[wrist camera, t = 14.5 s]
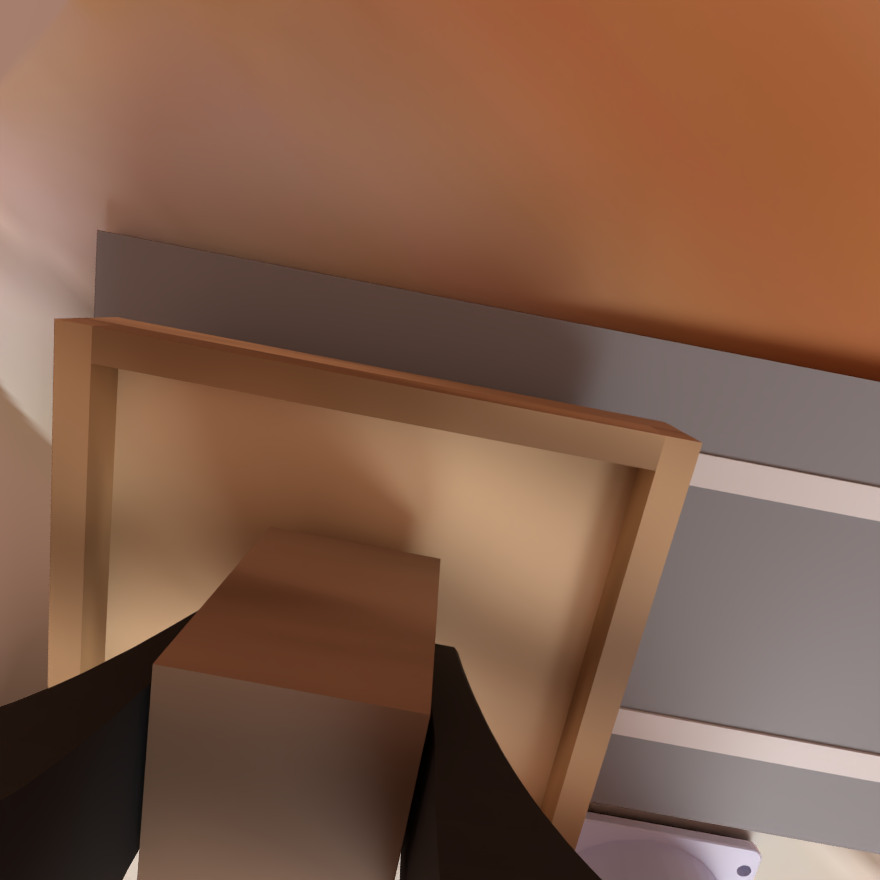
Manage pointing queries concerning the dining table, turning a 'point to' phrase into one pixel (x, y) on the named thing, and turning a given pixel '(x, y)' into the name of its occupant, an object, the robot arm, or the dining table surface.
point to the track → (695, 539)
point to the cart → (366, 516)
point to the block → (292, 717)
